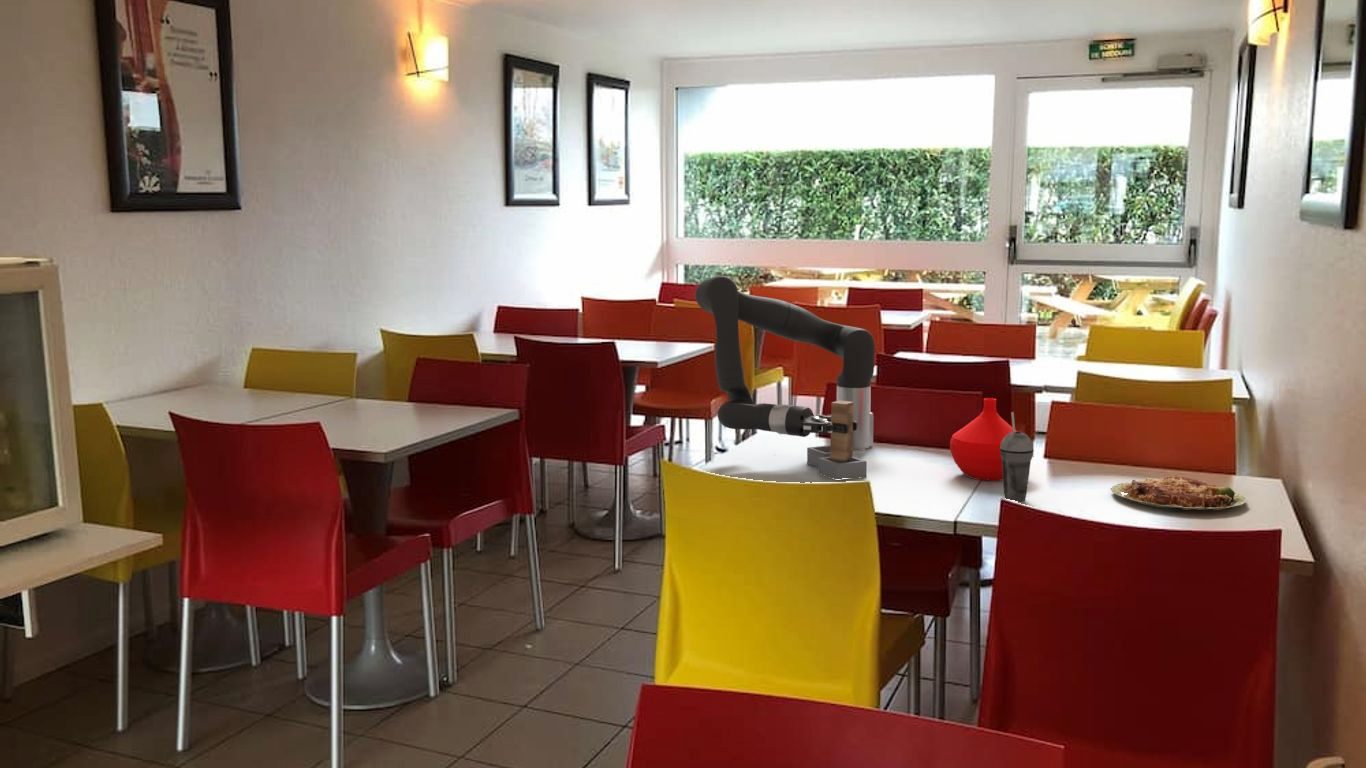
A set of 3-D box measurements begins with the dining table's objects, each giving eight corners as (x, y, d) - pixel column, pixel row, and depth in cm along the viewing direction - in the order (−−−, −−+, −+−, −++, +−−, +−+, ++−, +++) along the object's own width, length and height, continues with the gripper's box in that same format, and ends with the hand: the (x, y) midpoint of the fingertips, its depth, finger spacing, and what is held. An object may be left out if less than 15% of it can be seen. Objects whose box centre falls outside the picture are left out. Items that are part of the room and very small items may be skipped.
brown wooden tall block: (837, 455, 275) (839, 400, 272) (852, 457, 272) (853, 402, 270) (830, 458, 271) (831, 402, 269) (844, 460, 269) (846, 404, 267)
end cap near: (847, 470, 278) (847, 454, 278) (866, 477, 270) (866, 461, 270) (818, 473, 275) (818, 458, 274) (837, 480, 267) (837, 464, 266)
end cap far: (834, 459, 291) (835, 444, 290) (852, 465, 283) (853, 450, 282) (807, 462, 287) (807, 447, 286) (824, 469, 279) (824, 453, 279)
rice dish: (1132, 484, 266) (1133, 462, 265) (1259, 496, 248) (1260, 473, 248) (1092, 509, 244) (1093, 485, 243) (1228, 524, 227) (1229, 498, 226)
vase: (1030, 486, 259) (1033, 406, 257) (950, 483, 263) (952, 404, 260) (1022, 469, 277) (1025, 393, 274) (948, 466, 281) (949, 392, 278)
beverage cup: (1036, 504, 243) (1039, 415, 240) (1002, 504, 244) (1005, 415, 241) (1026, 496, 251) (1029, 409, 248) (994, 496, 251) (997, 409, 248)
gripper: (777, 409, 272) (839, 416, 263) (805, 401, 284) (865, 408, 274) (776, 439, 274) (838, 447, 264) (804, 430, 285) (865, 438, 275)
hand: (852, 427), depth 269 cm, fingers closed on brown wooden tall block, 4 cm apart
